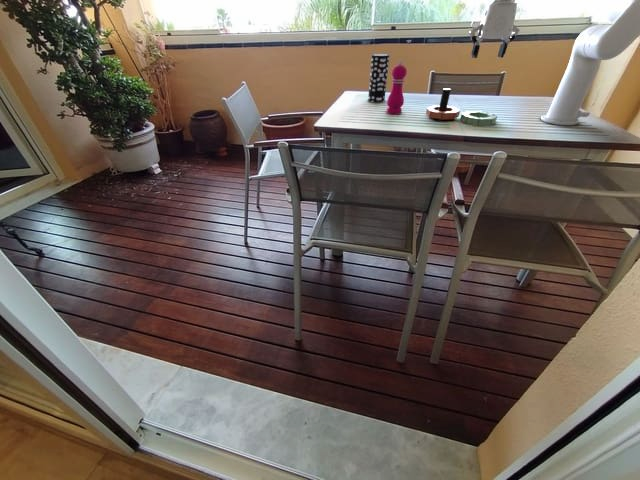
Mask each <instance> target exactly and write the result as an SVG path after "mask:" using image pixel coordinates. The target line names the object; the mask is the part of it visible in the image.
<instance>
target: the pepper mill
mask: <svg viewBox="0 0 640 480" xmlns="http://www.w3.org/2000/svg"><path fill="white" fill-rule="evenodd" d="M403 64H404V63H403V61H402V60H400V61H398V62H397V65H396V66H394V67H393V68H392V71H391V76H392V78H391V79H392V80H391V83H392V87H391V90H390V94H389V95H388V97H387V100H386V105H387V108H386V113H387V114H388V115H401V113H402V109H403V108H402V107H403V105H404V103H405V98H404V93H403V84H404V83H405V77H406V76H407V75H408V69H407V67H405V66H404V65H403Z"/></svg>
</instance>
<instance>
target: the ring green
mask: <svg viewBox="0 0 640 480" xmlns="http://www.w3.org/2000/svg"><path fill="white" fill-rule="evenodd" d="M459 119H460V121H461V122H463V123H465V124H468V125H473V126H478V127H479V126H493V125H494V124H496V122H497V119H498V116H497V115H496V114H494V113H491V112H488V111H481V110H466V111H464V112H462V113H461V114H460V117H459Z"/></svg>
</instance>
